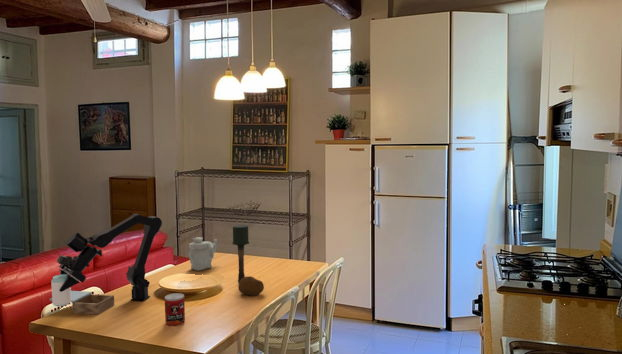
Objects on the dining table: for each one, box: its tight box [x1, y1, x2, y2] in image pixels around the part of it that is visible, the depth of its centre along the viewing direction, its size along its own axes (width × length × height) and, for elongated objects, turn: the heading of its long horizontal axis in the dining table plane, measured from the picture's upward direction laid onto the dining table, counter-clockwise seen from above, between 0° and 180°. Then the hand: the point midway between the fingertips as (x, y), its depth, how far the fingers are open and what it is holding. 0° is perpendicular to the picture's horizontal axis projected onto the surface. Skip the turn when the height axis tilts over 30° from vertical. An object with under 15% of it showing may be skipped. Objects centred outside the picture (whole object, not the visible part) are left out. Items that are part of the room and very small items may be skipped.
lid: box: [49, 290, 93, 303], centre depth 211 cm, size 12×12×3 cm
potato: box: [238, 275, 265, 297], centre depth 227 cm, size 8×12×9 cm
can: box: [50, 274, 72, 307], centre depth 199 cm, size 7×7×12 cm
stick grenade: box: [231, 224, 250, 284], centre depth 245 cm, size 8×9×30 cm
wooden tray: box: [71, 293, 115, 315], centre depth 209 cm, size 12×12×4 cm
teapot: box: [188, 236, 218, 272], centre depth 277 cm, size 16×15×19 cm
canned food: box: [164, 292, 186, 327], centre depth 192 cm, size 8×8×11 cm
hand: (57, 289), depth 198 cm, fingers closed on can, 7 cm apart
